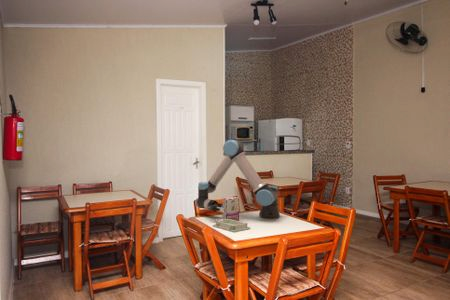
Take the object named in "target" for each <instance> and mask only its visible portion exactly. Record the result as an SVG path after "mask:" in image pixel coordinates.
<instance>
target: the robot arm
mask: <svg viewBox="0 0 450 300" xmlns="http://www.w3.org/2000/svg"><path fill="white" fill-rule="evenodd" d="M244 148H245V147H244V144H243V142H242V141H240V140H239V139H229V140H227V141H225V142H224V144H223V146H222V150H223V153H224V154H225V157H224V158H223V159H222V161H221V162H220V164H219V165H218V166H217V168H216V170H215V171H214V173H213V174H212V175H211V176H210V178H209V180H208V181H202V182H201V181H200V182H198V186H197V191H198V193H197V196H198V197H197V198H196V199H195V202H194V203H195V206H196V207H197V208H199V209H204V210H207V211H211V212H215V213H217V212H219V213H223V212H224V208H223V202H222V203H220V202H218V201H217V200H216V199H215V200H214V199H210V198H209V194H211V193H214V192H215V191H216V189H217V187H218V185H219V183H220V182H221V181H222V179H223V178H224V176H225V175H226V173H227V172H228V171H229V169H230V168H231V166H232V165H233V163H235V164H236V166H237V167H238V169H239V170H240V171H241V173H242V174H243V176H244V178H245V180H246V181H247V182H248V183H249V186H251V188H252V189H253V190H252V191H253V192H252V193H253V195H254V196H255V200H256V202H257V203H258V205H260V206H261V208H260V211H259V213H258V215H259V218H263V219H279V218H280V217H281V216H280V215H281V213H280V210H279V207H278V203H279V200H278V196H279V193H278V192H279V189H278V188H279V187H278V186H277V185H268V184H267V183H266V182H264V181H263V180H262V179H261V177H260V175H259V173H258V172H257V171H256V170H255V168H254V167H253V165H252V164H251V162H250V161H249V159H248V158H247V156H246V151H245V150H244Z"/></svg>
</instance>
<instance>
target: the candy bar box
mask: <svg viewBox="0 0 450 300" xmlns="http://www.w3.org/2000/svg"><path fill="white" fill-rule="evenodd" d="M222 203H223V208H224V212H222V220H225V219H232V220H236V221H240V198H239V197H236V196H234V197H233V196H232V197H225V198H222Z"/></svg>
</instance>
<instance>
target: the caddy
mask: <svg viewBox="0 0 450 300" xmlns="http://www.w3.org/2000/svg"><path fill="white" fill-rule="evenodd" d="M212 227H214V228H217V229H220V230H224V231H228V232H231V233H238V232H241V231H242V232H243V231H248V230H251V227H250V226H248V223H247V222H243V221H240V220H239V221H236V220H232V219H225V220H223V219H219V220H216V221H215V224H212Z"/></svg>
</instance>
